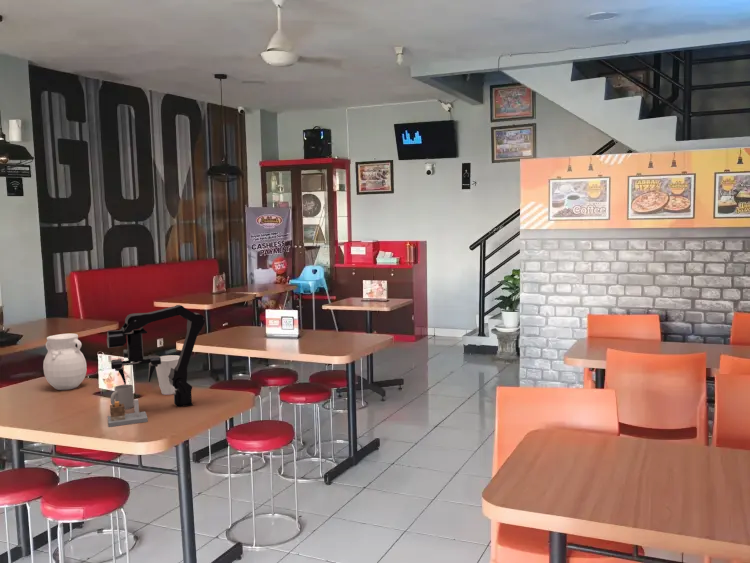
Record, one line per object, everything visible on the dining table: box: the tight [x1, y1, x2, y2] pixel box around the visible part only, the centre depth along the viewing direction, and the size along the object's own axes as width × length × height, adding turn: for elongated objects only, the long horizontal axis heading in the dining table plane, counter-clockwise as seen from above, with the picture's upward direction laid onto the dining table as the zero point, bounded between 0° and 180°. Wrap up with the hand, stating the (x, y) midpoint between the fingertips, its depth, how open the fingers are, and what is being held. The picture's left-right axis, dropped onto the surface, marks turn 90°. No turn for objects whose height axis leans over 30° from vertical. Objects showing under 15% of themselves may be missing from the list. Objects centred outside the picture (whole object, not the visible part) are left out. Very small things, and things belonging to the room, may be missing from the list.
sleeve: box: [109, 403, 126, 421], centre depth 253 cm, size 5×5×5 cm
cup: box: [110, 384, 135, 411], centre depth 272 cm, size 7×10×9 cm
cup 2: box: [155, 354, 180, 396], centre depth 295 cm, size 12×12×16 cm
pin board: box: [107, 398, 149, 428], centre depth 254 cm, size 14×10×8 cm
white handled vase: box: [42, 332, 88, 391], centre depth 309 cm, size 19×18×25 cm
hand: (137, 383), depth 265 cm, fingers open, 9 cm apart
